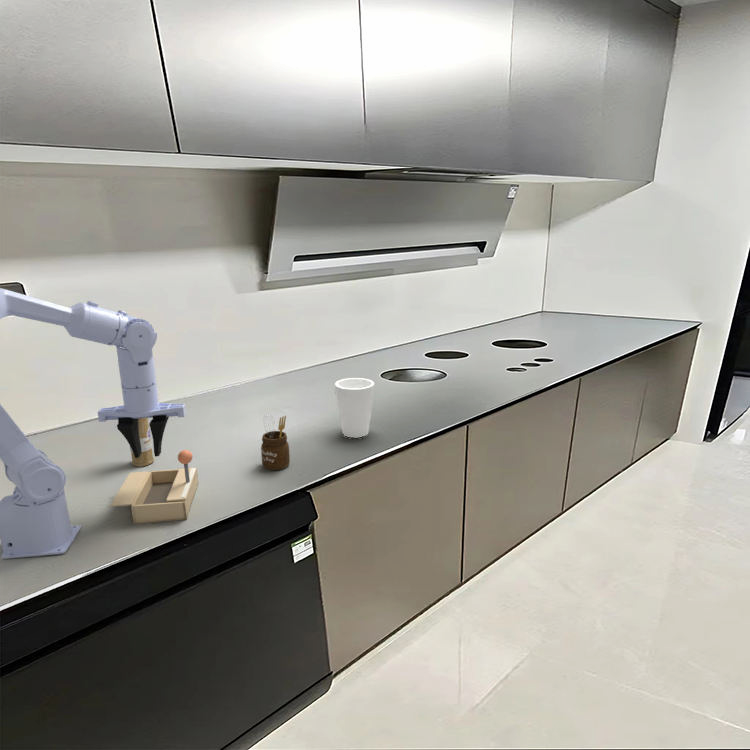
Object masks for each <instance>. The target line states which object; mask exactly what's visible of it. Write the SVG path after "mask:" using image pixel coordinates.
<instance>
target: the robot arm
mask: <svg viewBox="0 0 750 750" xmlns="http://www.w3.org/2000/svg"><path fill="white" fill-rule="evenodd" d="M8 316H14V317H18V318H23V319H28V320H33V321H37V322H43V323H47V324H52V325H55V326H62V327H63V328H64V329H65V330H66V331H67V333H68V335H69V337H72V338H76V339H81V340H85V341H89V342H93V343H97V344H101V345H106V346H116V347H115V348H116V354H117V365H118V368H119V377H120V385H121V393H122V400H123V405H117V406H111V407H101V408H99V410H98V411H97V416H98V422H99V423H103V422H104V423H105V422H107V421H116V420H118V421H117V425H116V428H117V430H118V431H119V432H120V433H121V434H122V436H123V437H124V438H125V440H126V442H127V443H128V444H129V448H130V447H131V449H132V451H133V453H134V456H135V458H139V456H140V455H141V453H142V452H141V443H140V438H139V427H138V418H148V419H151V420H150V422H148V424H149V429H150V434H151V436H152V437H151V438H152V443H153V444H152V445H153V453H154V457H159V456H161V454H162V445H163V443H162V442H163V437H164V433H165V429H166V426H167V424H168V421H169V418H171V417H178V418H184V417H185V416H186V414H187V413H186V412H187V411H186V403H170V402H169V403H167V402H159V396H158V395H159V394H158V386H157V377H156V376H157V375H156V370H155V361H154V360H155V359H154V353H153V348H154V347H155V344H156V342H157V340H158V339H157V338H158V332H156V331H155V329H154V327H153V325H152V324H150V322H149V321H147V320H145V319H143V318H139V317H135V316H131V315H130V314H128V313H127V311H124V310H118V311H115V310H114V311H113V310H110V309H108V308H107V309H106V308H103V307H99V303H98V302H95V301H92V300H87V302H86V303H85V302H82V301H81V302H78V303H76V304H72V305H71V306H68V307H67V306H63V305H61V304H57V303H54V302H50V301H46V300H43V299H41V298H36V297H33V296H30V295H26V294H23V293H19V292H17V291H16V292H15V291H12V290H10V289H6V288H2V287H0V320H1V319H4V318H7V317H8ZM0 460H1V462H2V463H3V467H4V473H5V476H6V479H8V480H9V482H11V483H13V484H14V486H15V487H14V489H13V493H12V494H10V495H6V496H4V497H2V498H1V499H0V545H1V549H2V554H1V556H0V557H1V560H5V559H17V558H28V557H39V556H40V557H41V556H51V555H63V554H65V553H67V551H68V549H69V548H70V546H71V545H72V543H73V541H74V539H76V537H77V536H78V534H79V532H80V531H81V529H82V526H81V525H78V524H77V525H71V519H70V514H69V508H68V504H67V503H68V501H67V497H66V492H65V485H66V482H67V481H66V479H67V476H66V473H65V471H64V469H63V468H62V467H61V466H59V465H58V464H55V462H53V461H52V460H51V459H50V458H49V457H48V455H46V453H45V452H44V451H42V450H41V449H38V448H37V447H36V446H35V445H34V444H33V443H32V442H31V440H30V439H29V438H28V437H27V436H26V434H25V433H24V432H23V431H22V430H21V428H20V427H19V426H18V424H17V423H16V422H15V421H14V419H13V418H12V417H11V415H10V414H9V413H8V412H7V411H6V409H5V407H3V406H2V404H1V403H0Z"/></svg>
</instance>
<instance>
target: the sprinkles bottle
mask: <svg viewBox="0 0 750 750" xmlns="http://www.w3.org/2000/svg"><path fill="white" fill-rule="evenodd" d="M138 427H139V438H140V443H141V452H142V453H141V455H140V456H139V458H135V456H134V453H133V451H132V449H131V447H130V446H129V450H130V454H131V464H132V465H133V466H134V467H137V468H138V467H145V466H146V467H147V466H149V465H151V464H152V463H154V461H155V459H154V455H153V446H152V445H153V444H152V437H151V429H150V426H149V418H138Z"/></svg>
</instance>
